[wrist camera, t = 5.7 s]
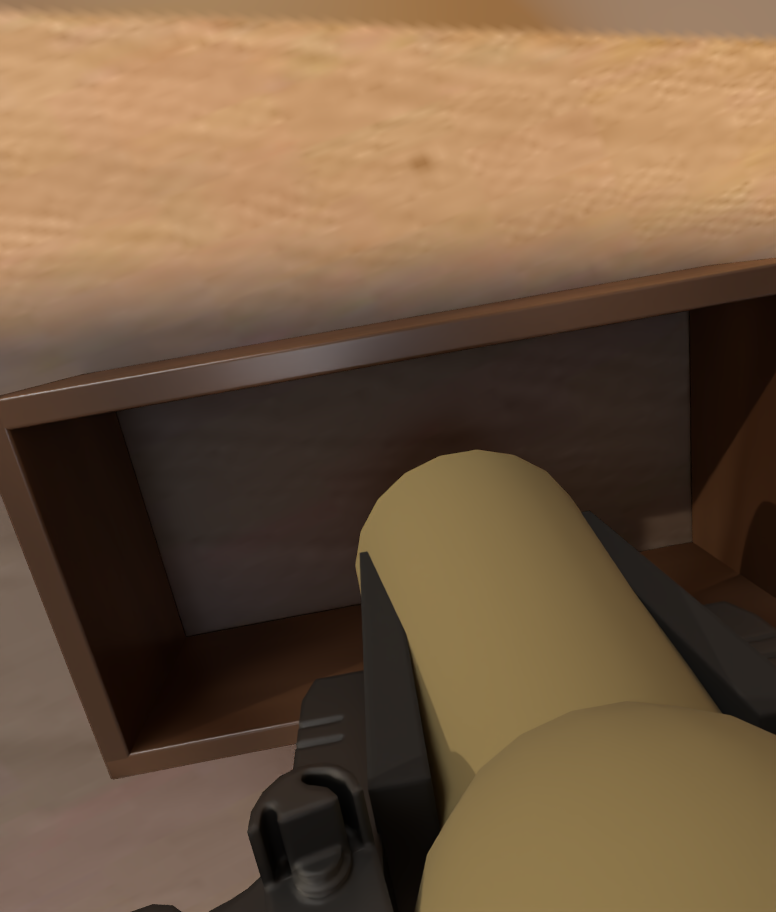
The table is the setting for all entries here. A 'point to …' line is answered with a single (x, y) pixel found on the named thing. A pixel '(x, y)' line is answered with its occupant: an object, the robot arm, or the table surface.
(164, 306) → the table surface
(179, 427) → the table surface
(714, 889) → the cork
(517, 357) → the table surface
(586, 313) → the box
